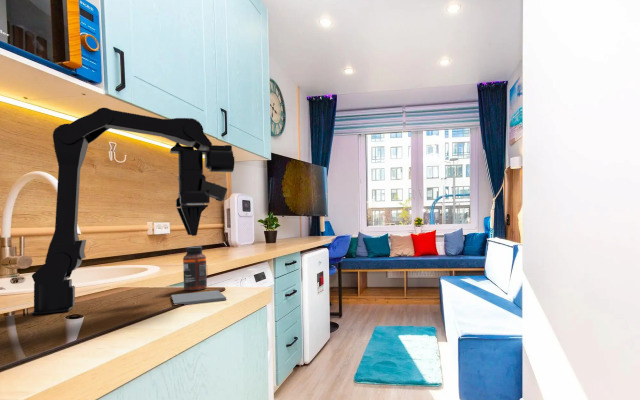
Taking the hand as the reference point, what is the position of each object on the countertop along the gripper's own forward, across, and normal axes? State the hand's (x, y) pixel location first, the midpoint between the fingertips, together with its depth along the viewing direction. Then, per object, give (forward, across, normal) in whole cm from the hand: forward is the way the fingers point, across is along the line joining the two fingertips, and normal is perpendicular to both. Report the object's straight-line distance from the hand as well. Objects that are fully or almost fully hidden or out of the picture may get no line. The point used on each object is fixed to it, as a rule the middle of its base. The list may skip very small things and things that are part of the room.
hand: (192, 235), depth 95 cm
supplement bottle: (+15, +11, -2) cm, 19 cm away
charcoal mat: (+15, -4, -1) cm, 15 cm away
